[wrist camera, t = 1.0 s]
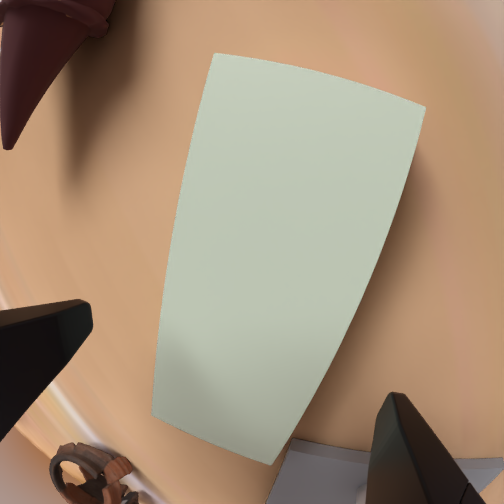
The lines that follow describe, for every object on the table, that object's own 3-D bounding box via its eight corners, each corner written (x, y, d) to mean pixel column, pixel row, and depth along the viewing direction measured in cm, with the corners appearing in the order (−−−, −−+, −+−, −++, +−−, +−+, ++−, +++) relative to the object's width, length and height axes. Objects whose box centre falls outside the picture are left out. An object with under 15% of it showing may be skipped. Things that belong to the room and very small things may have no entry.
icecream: (7, 172, 9) (158, -129, 5) (-73, 144, 8) (42, -105, 4) (90, 161, 16) (185, -61, 11) (6, 137, 15) (89, -59, 11)
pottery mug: (72, 443, 28) (29, 462, 20) (119, 411, 29) (75, 431, 21) (133, 519, 25) (102, 552, 17) (189, 496, 26) (163, 536, 18)
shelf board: (402, 121, 11) (425, 107, 7) (287, 413, 17) (271, 465, 13) (250, 79, 12) (214, 52, 8) (184, 372, 18) (151, 415, 14)
